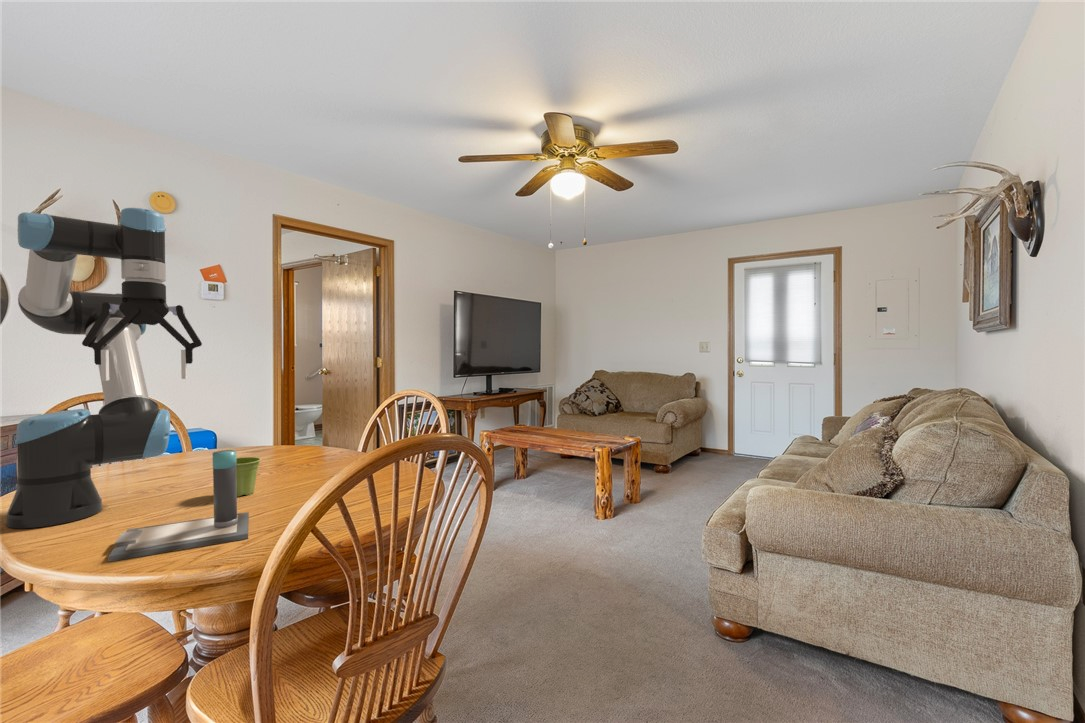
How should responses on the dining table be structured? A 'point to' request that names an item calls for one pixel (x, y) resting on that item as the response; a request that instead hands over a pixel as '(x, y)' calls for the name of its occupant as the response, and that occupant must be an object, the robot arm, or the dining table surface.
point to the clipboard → (176, 537)
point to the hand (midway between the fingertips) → (146, 379)
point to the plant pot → (246, 474)
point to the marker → (225, 488)
